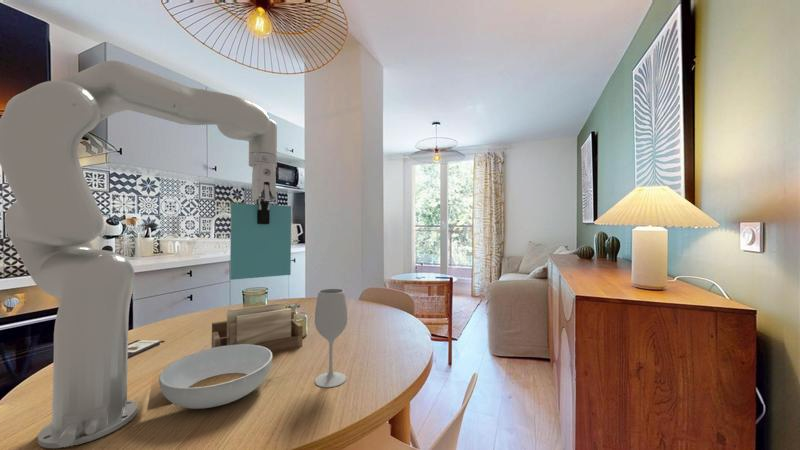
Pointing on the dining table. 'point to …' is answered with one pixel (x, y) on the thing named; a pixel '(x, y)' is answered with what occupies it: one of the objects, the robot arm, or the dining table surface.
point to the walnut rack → (276, 345)
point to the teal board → (260, 242)
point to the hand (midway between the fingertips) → (262, 223)
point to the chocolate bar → (141, 346)
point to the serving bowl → (212, 364)
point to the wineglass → (330, 329)
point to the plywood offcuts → (258, 324)
